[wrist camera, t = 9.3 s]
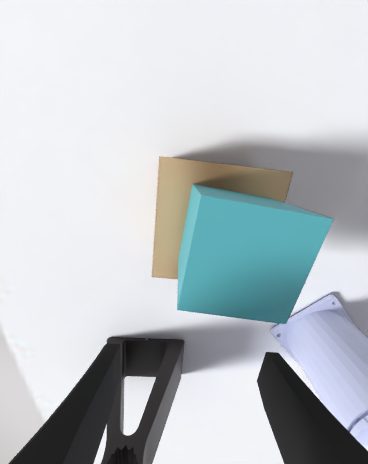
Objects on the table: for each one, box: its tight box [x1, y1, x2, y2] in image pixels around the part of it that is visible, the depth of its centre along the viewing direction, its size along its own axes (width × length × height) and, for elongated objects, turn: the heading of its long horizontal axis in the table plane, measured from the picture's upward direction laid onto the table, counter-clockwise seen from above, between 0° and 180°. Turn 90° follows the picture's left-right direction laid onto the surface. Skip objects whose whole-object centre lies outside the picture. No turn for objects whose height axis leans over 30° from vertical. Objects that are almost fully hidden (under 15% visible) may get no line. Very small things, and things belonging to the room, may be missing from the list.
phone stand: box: [101, 337, 184, 464], centre depth 18 cm, size 9×6×12 cm, turn 85°
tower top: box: [152, 156, 293, 279], centre depth 14 cm, size 8×8×3 cm
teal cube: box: [177, 184, 333, 324], centre depth 10 cm, size 5×5×5 cm
